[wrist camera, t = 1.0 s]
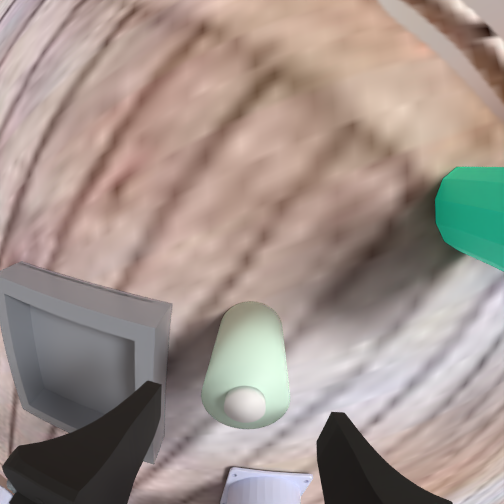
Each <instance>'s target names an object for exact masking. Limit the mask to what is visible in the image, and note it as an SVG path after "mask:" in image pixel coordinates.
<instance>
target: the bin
mask: <svg viewBox="0 0 504 504" xmlns="http://www.w3.org/2000/svg"><path fill="white" fill-rule="evenodd" d="M171 312H172V304H171V303H167V302H163V301H159V300H154V299H150V298H146V297H142V296H138V295H134V294H131V293H127V292H123V291H119V290H115V289H112V288H108V287H104V286H101V285H97V284H93V283H90V282H86V281H83V280H80V279H76V278H73V277H69V276H66V275H63V274H60V273H56V272H53V271H50V270H47V269H44V268H40V267H37V266H34V265H31V264H28V263H25V262H22V261H21V262H19V263H17V264H14V265H12V266H10V267H7V268H5V269H3V270H1V271H0V326H1V331H2V336H3V341H4V345H5V350H6V354H7V358H8V362H9V366H10V369H11V373H12V376H13V380H14V383H15V386H16V390H17V393H18V396H19V399H20V402H21V404H22V407H23V409H24V410H26V411H28V412H30V413H31V414H33V415H35V416H37V417H39V418H40V419H42V420H44V421H46V422H48V423H50V424H52V425H54V426H56V427H58V428H60V429H62V430H64V431H66V432H68V433H71V432H73V431H76V430H78V429H80V428H82V427H84V426H86V425H88V424H90V423H92V422H94V421H95V420H97V419H99V418H100V417H102V416H103V415H105V414H106V413H108V412H109V411H111V410H112V409H114V408H115V407H116V406H118V405H119V404H120V403H122V402H123V401H124V400H125V399H127V398H128V397H129V396H130V395H131V394H133V393H134V392H135V391H136V390H137V389H138V388H139V387H140V386H142V385H143V384H144V383H145V382H146V381H152V382H155V383H159V384H162V393H161V418H160V421H159V424H158V427H157V431H156V434H155V436H154V439H153V441H152V443H151V445H150V447H149V449H148V451H147V454H146V456H145V458H144V460H143V461H144V462H147V463H151V464H154V463H155V461H156V458H157V455H158V452H159V449H160V447H161V444H162V441H163V438H164V423H165V395H166V376H167V360H168V346H169V334H170V323H171Z"/></svg>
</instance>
